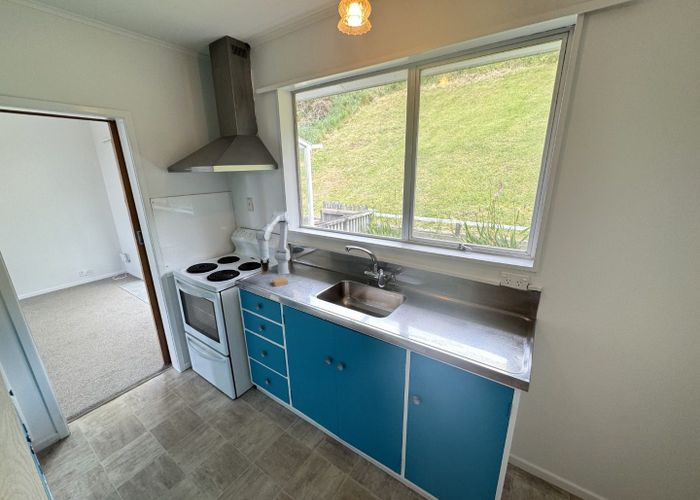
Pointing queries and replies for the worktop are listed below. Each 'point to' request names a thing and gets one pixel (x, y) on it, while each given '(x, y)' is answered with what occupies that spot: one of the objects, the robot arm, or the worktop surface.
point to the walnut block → (263, 270)
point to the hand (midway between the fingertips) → (265, 270)
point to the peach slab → (280, 281)
